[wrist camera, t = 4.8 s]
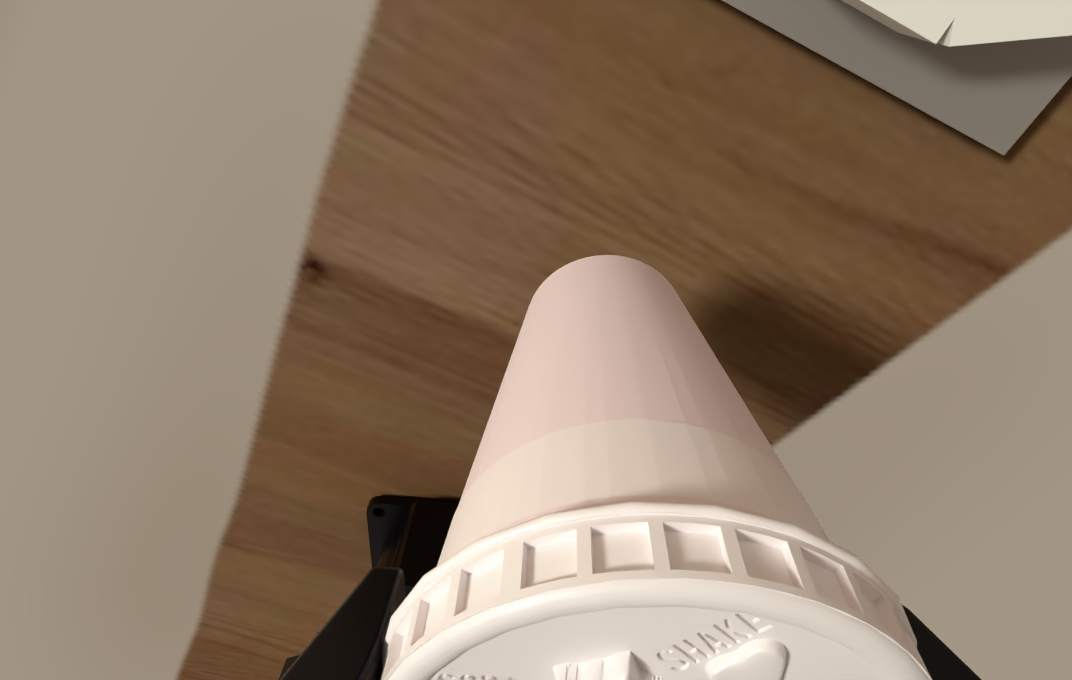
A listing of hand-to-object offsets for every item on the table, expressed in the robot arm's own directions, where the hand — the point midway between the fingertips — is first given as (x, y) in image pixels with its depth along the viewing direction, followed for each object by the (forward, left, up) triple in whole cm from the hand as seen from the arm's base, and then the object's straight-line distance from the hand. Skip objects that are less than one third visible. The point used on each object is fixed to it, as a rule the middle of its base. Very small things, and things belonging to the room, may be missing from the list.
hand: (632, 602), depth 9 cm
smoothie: (0, 0, -8) cm, 8 cm away
